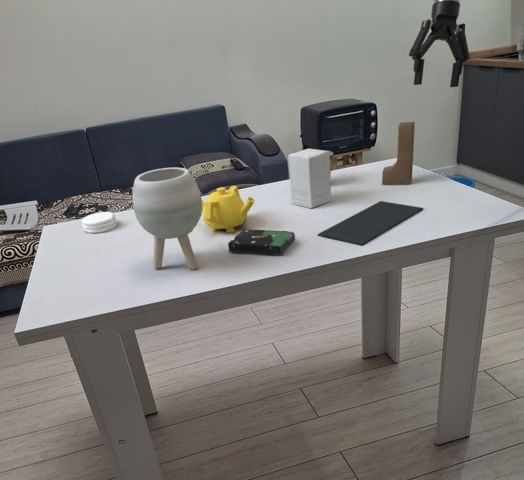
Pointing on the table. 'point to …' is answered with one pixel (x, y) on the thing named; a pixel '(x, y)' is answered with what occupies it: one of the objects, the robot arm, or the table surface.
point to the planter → (168, 209)
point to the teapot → (225, 209)
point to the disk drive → (262, 242)
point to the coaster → (99, 222)
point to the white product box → (310, 177)
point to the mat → (370, 222)
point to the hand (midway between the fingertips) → (436, 86)
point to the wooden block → (401, 157)
